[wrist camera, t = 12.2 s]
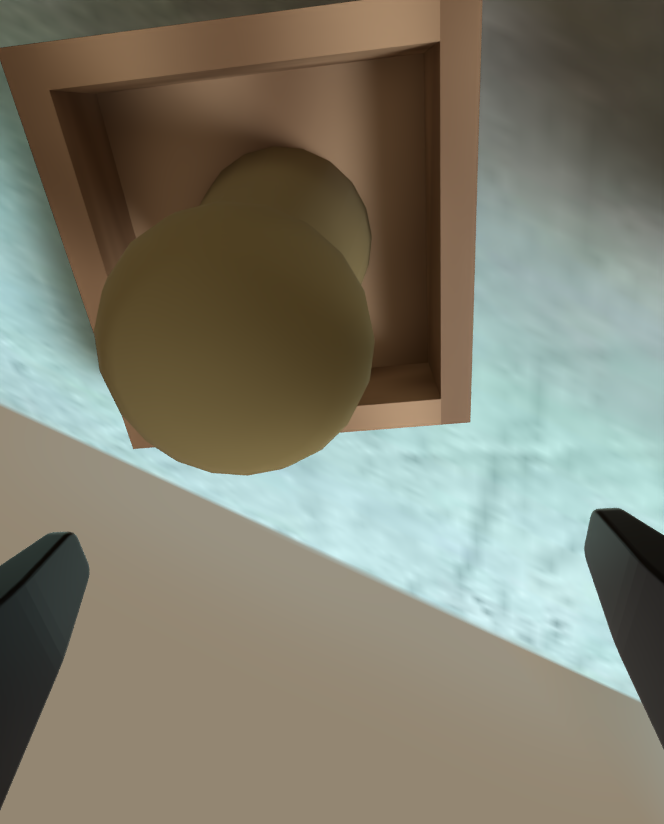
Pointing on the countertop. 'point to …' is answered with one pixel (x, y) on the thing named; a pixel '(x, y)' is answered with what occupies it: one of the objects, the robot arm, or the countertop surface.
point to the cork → (244, 317)
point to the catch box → (294, 128)
